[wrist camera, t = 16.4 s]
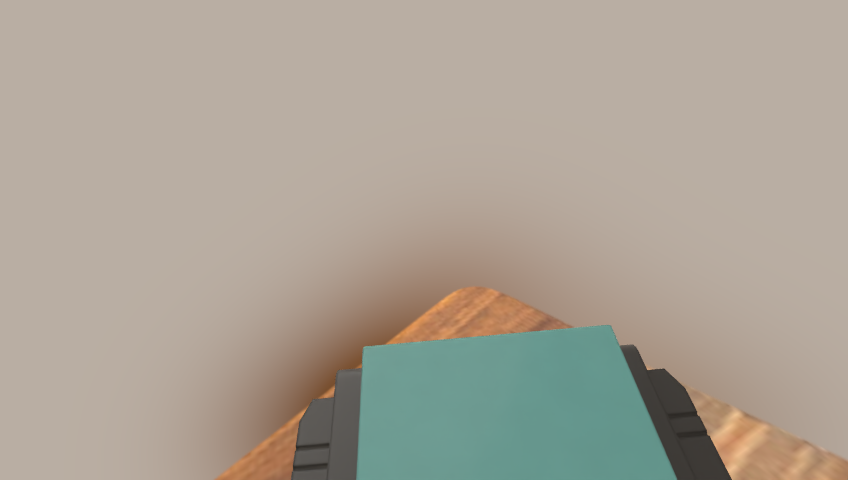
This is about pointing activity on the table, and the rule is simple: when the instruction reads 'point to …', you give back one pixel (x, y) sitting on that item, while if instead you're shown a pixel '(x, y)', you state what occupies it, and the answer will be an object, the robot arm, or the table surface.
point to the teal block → (506, 410)
